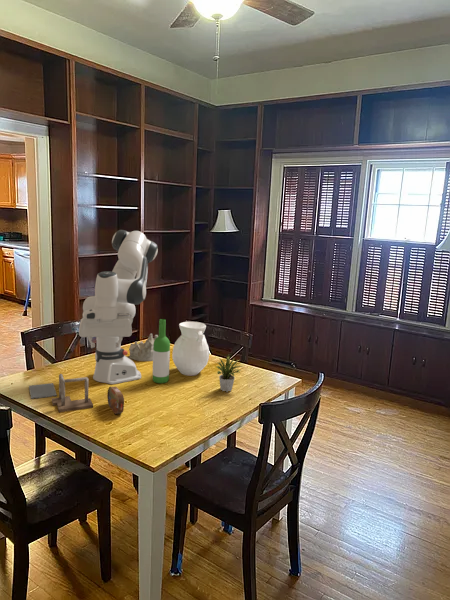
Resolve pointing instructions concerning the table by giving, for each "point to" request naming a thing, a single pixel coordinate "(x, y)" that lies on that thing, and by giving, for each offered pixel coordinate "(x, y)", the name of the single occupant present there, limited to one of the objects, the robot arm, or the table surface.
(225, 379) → the house plant
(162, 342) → the wine bottle
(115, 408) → the tin
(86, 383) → the buzz wire frame
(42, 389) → the mat
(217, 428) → the table surface
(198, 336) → the white ceramic vase
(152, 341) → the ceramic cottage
